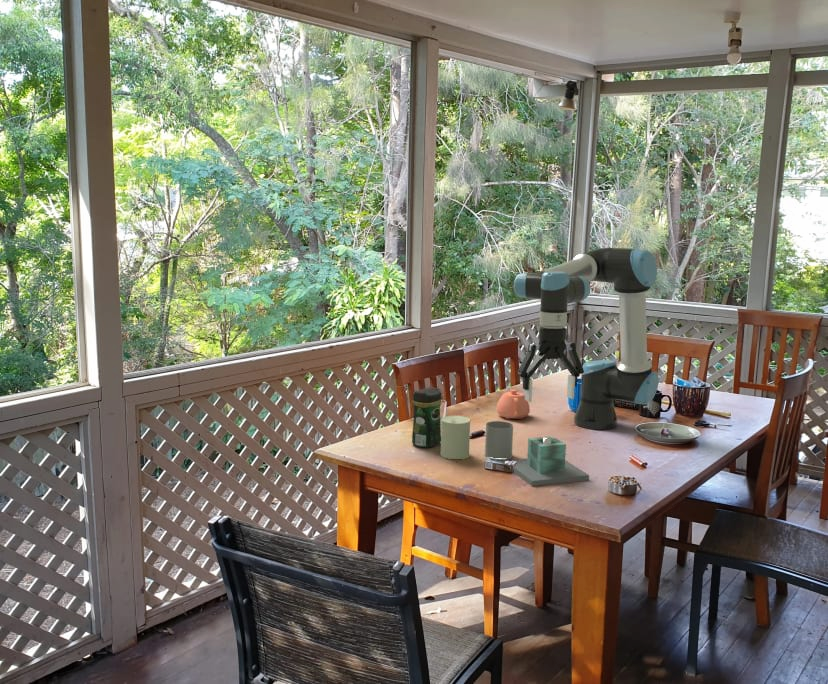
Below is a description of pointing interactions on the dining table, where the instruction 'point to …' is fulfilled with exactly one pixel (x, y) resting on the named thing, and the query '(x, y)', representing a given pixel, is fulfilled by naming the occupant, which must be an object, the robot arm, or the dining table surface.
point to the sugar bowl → (513, 405)
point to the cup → (499, 439)
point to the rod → (547, 440)
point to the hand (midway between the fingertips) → (549, 399)
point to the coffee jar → (426, 417)
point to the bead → (546, 455)
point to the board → (548, 474)
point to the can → (455, 437)
